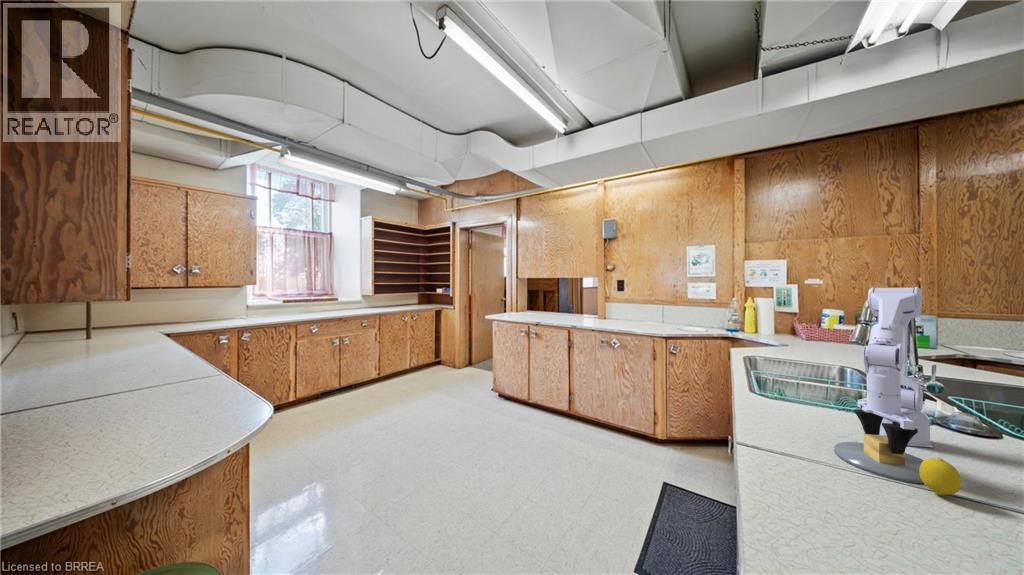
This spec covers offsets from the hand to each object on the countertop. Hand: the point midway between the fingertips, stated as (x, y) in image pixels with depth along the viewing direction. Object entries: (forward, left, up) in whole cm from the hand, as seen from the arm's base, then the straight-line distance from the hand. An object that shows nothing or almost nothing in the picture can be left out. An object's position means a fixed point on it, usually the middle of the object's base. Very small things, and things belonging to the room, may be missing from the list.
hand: (883, 445), depth 83 cm
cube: (0, 0, -3) cm, 3 cm away
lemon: (-1, +13, -4) cm, 14 cm away
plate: (0, 0, -4) cm, 4 cm away
